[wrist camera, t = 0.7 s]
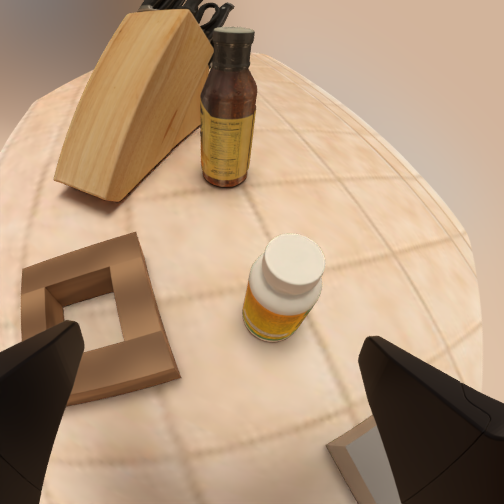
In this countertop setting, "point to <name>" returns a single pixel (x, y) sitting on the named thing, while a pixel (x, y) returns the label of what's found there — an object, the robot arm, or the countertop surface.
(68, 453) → the countertop surface
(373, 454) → the grey narrow collar
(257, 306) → the supplement bottle
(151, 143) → the knife block
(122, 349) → the walnut sleeve block
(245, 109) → the sauce bottle
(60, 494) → the countertop surface
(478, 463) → the robot arm
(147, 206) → the countertop surface
